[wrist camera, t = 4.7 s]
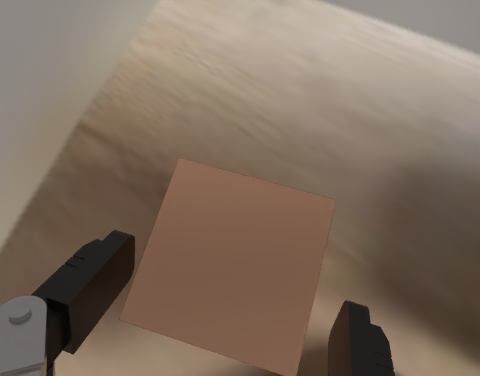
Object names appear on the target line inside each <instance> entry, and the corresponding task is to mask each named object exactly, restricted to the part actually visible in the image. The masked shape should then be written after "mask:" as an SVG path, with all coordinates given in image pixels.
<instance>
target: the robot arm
mask: <svg viewBox="0 0 480 376" xmlns="http://www.w3.org/2000/svg"><path fill="white" fill-rule="evenodd" d="M134 260H135V237H134V236H133V235H130V234H126V233H123V232H120V231H116V230H114V231H112V232H111V233H110V234H109V235H108V236H107V237H106V238H105V239H104V240H103V241H101V240H98V239H96V240H94V241H92V242H90V243H88V244H86V245H84V246H83V247H82V248H80V249H79V250H78V251H77V252H76V253H75V254H74V255H73V257H71V258H70V259H69V260H68V261H67V262H66V263H65V265H62V266H61V267H60V268H59V269H58V270H57V271H56V272H55V273H54V274H53V275H52V276H51V277H50V278H49V279H48V280H46V281H45V282H44V283H43V284H42V285H41V286H40V287H39V288H38V289H37V290H36V291H35V292H34V293H33V294H31V295H30V296H20V297H16V298H13V299H11V300H9V301H7V302H5V303H4V304H2V305H1V306H0V376H55V359H56V358H57V357H58V355H59V354H60V353H61V352H62V350H63V351H66V352H69V353H71V354H74V353H75V352H76V351H77V349H78V348H79V347H80V345H81V344H82V343H83V341H84V340H85V339H86V337H87V336H88V335H89V333H90V332H91V331H92V329H93V328H94V327H95V325H96V324H97V323H98V321H99V320H100V319H101V317H102V316H103V315H104V313H105V312H106V311H107V309H108V308H109V307H110V305H111V304H112V303H113V301H114V300H115V299H116V297H117V296H118V295H119V293H120V292H121V291H122V289H123V288H124V287H125V285H126V284H127V283H128V281H129V280H130V278H131V276H132V273H133V270H134ZM391 357H392V356H391V351H390V345H389V341H388V339H387V337H386V336H385V334H384V332H383V330H382V329H381V327H379V326H376V325H373V324H371V323H370V315H369V309H368V307H367V306H363V305H360V304H357V303H353V302H350V301H345V302H344V303H343V305H342V307H341V310H340V312H339V314H338V316H337V318H336V320H335V323H334V325H333V327H332V329H331V333H330V337H329V343H328V376H395V373H394V372H393V369H394V368H393V362H392V359H391Z"/></svg>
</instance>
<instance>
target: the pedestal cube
mask: <svg viewBox="0 0 480 376" xmlns="http://www.w3.org/2000/svg"><path fill="white" fill-rule="evenodd" d="M335 203H336V200H335V199H331V198H327V197H324V196H320V195H316V194H312V193H309V192H305V191H301V190H297V189H294V188H290V187H286V186H283V185H279V184H275V183H271V182H268V181H264V180H260V179H256V178H253V177H249V176H245V175H241V174H238V173H234V172H230V171H227V170H223V169H219V168H215V167H212V166H208V165H204V164H200V163H197V162H193V161H189V160H185V159H182V158H179V159H178V162H177V165H176V167H175V170H174V173H173V175H172V178H171V181H170V184H169V186H168V189H167V192H166V194H165V197H164V200H163V202H162V205H161V208H160V210H159V213H158V216H157V219H156V221H155V224H154V227H153V229H152V232H151V235H150V237H149V240H148V243H147V245H146V248H145V251H144V253H143V256H142V259H141V262H140V264H139V267H138V270H137V272H136V275H135V278H134V280H133V283H132V286H131V288H130V291H129V294H128V296H127V299H126V302H125V305H124V307H123V310H122V313H121V315H120V318H119V320H121V321H124V322H126V323H129V324H132V325H135V326H138V327H141V328H144V329H147V330H150V331H153V332H156V333H159V334H162V335H165V336H168V337H171V338H174V339H177V340H180V341H183V342H185V343H188V344H191V345H194V346H197V347H200V348H203V349H206V350H209V351H212V352H215V353H218V354H221V355H224V356H227V357H230V358H233V359H236V360H239V361H241V362H244V363H247V364H250V365H253V366H256V367H259V368H262V369H265V370H268V371H271V372H274V373H277V374H280V375H283V376H296V375H297V371H298V366H299V362H300V357H301V353H302V349H303V344H304V340H305V335H306V331H307V327H308V322H309V318H310V313H311V309H312V304H313V300H314V296H315V291H316V287H317V282H318V278H319V274H320V269H321V265H322V260H323V256H324V252H325V247H326V243H327V238H328V234H329V230H330V225H331V221H332V216H333V212H334V207H335Z"/></svg>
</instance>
